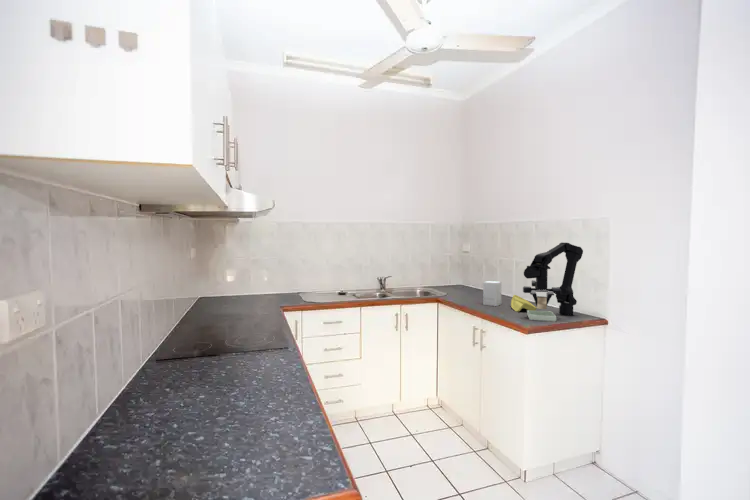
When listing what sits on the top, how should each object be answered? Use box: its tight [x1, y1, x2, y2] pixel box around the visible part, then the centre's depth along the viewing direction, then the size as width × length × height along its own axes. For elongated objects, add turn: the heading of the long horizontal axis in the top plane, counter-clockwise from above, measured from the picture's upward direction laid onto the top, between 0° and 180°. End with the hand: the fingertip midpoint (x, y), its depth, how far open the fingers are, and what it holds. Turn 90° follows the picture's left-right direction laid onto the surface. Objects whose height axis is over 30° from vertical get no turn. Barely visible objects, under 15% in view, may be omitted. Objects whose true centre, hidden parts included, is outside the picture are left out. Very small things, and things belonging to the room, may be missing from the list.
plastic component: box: [510, 294, 537, 313], centre depth 226 cm, size 20×7×10 cm
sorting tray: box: [526, 309, 557, 322], centre depth 203 cm, size 13×13×2 cm
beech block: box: [535, 295, 548, 310], centre depth 202 cm, size 4×4×6 cm
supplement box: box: [482, 280, 502, 307], centre depth 241 cm, size 9×9×15 cm
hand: (541, 305), depth 202 cm, fingers closed on beech block, 4 cm apart
